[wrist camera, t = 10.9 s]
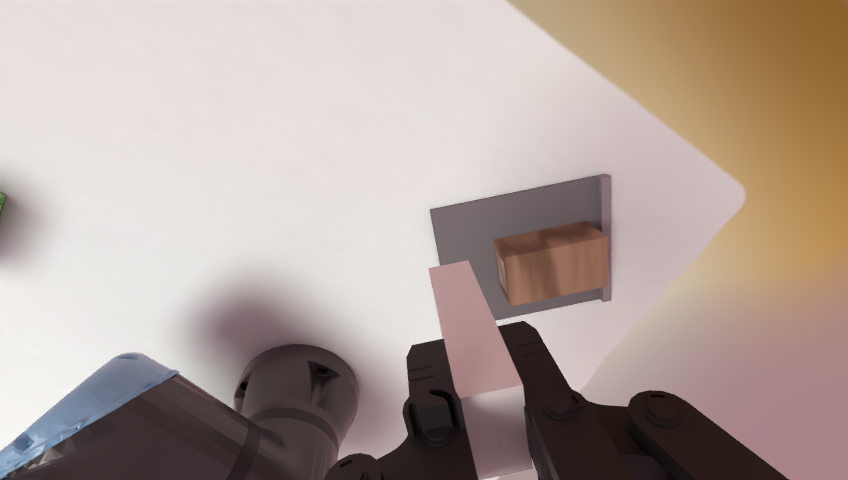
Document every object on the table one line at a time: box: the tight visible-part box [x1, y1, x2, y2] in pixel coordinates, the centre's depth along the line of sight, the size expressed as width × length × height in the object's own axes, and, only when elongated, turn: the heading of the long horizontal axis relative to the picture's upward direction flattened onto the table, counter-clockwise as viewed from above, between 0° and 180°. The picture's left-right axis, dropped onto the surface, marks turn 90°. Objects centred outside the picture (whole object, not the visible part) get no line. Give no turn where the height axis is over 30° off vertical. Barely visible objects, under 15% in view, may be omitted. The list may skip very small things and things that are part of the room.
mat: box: [430, 174, 611, 321], centre depth 49 cm, size 20×16×1 cm
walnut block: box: [493, 221, 608, 306], centre depth 47 cm, size 5×6×11 cm
